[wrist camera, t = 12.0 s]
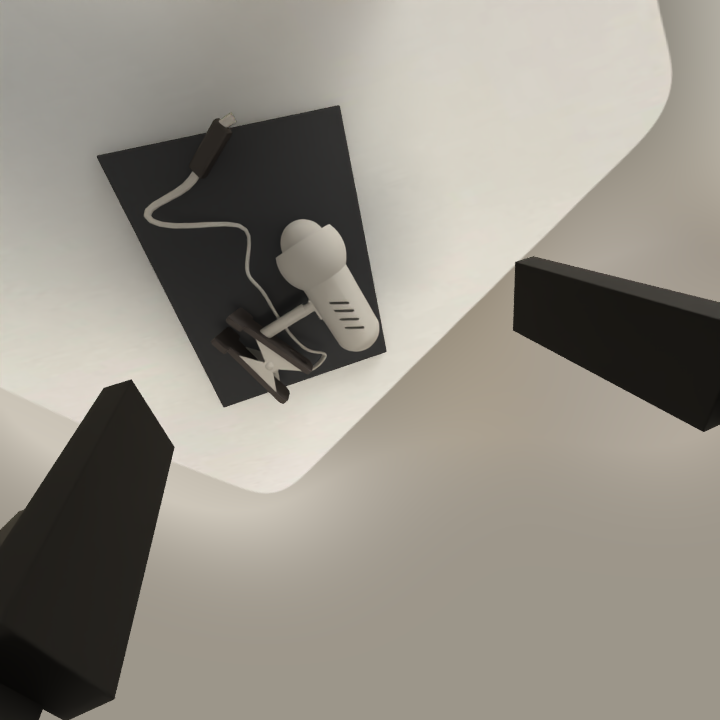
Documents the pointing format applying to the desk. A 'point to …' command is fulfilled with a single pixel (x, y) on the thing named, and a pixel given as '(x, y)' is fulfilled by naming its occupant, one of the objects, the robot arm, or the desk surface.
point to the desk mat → (229, 244)
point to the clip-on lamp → (300, 268)
